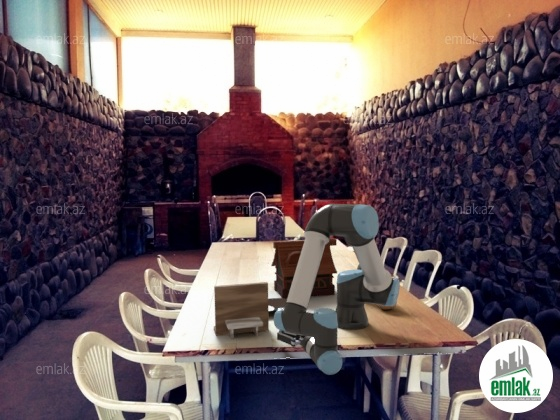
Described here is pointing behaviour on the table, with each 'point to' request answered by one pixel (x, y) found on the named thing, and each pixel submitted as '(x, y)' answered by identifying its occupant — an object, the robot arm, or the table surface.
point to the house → (287, 264)
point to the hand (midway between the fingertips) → (297, 326)
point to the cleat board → (241, 308)
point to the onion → (386, 307)
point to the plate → (277, 303)
